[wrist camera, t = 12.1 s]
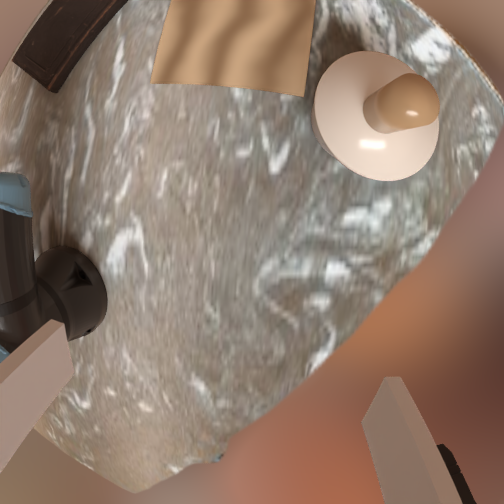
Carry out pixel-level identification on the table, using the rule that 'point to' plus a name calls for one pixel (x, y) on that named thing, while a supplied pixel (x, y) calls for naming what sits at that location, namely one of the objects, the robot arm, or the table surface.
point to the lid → (377, 115)
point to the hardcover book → (63, 38)
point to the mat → (236, 44)
